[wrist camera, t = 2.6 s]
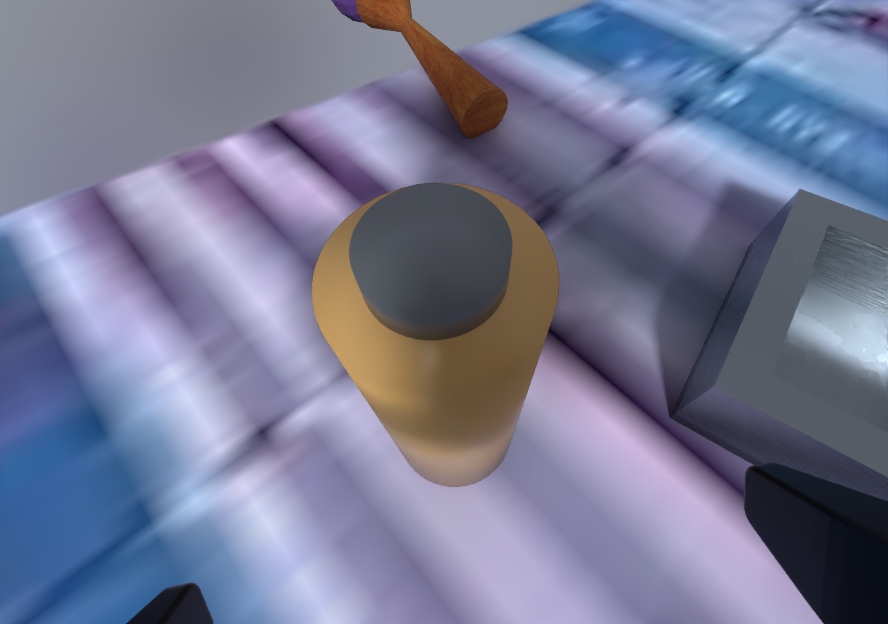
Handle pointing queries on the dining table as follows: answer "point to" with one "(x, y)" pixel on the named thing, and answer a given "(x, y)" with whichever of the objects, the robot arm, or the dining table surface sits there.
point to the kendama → (436, 64)
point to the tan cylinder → (439, 320)
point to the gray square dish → (802, 349)
